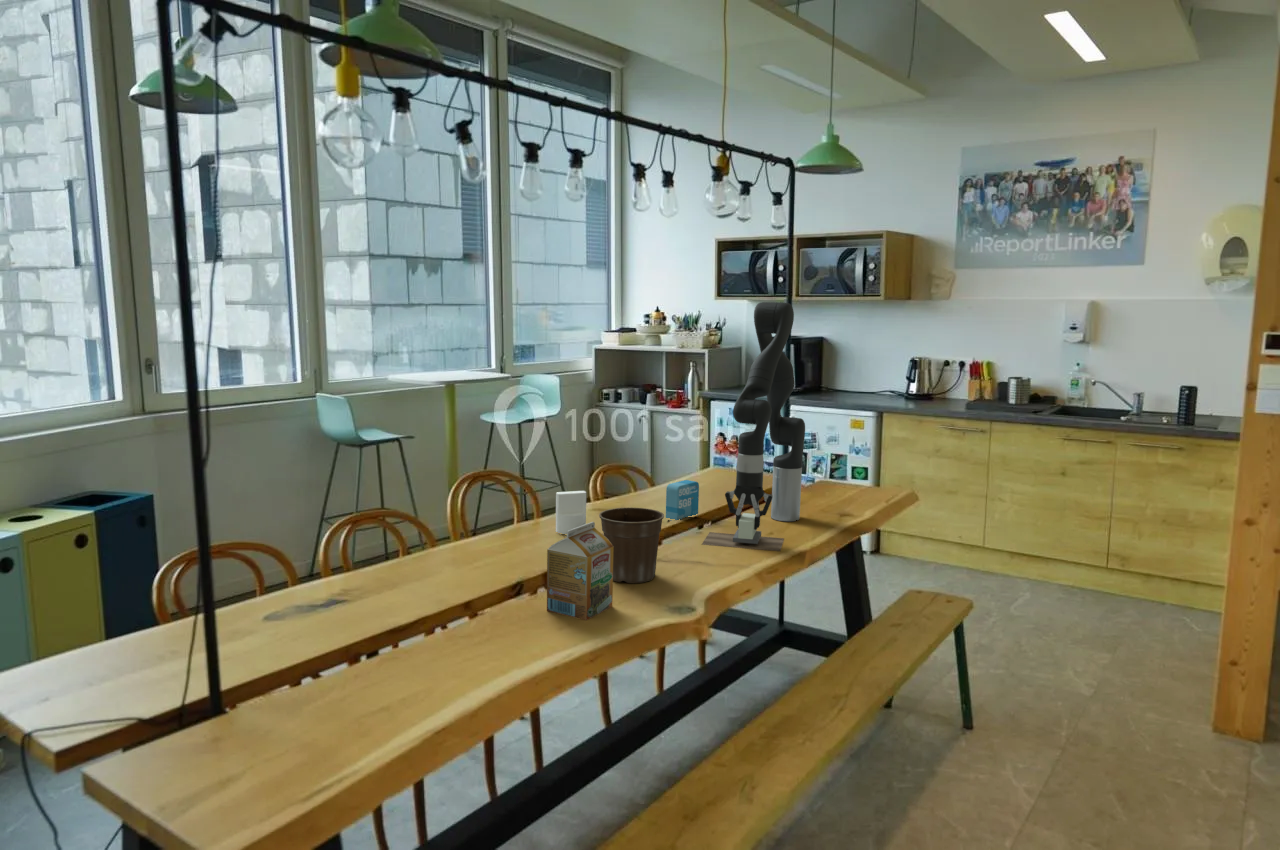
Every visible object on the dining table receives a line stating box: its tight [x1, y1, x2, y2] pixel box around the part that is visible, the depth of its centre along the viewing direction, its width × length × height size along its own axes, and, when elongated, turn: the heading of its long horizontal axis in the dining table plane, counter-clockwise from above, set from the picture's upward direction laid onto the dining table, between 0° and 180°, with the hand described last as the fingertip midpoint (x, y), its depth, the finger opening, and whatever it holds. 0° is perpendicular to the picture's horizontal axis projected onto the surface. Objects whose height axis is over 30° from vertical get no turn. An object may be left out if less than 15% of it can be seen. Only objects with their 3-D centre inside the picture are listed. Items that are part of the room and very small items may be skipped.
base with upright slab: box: [555, 490, 587, 534], centre depth 259 cm, size 9×9×12 cm
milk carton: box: [546, 521, 614, 621], centre depth 192 cm, size 11×11×19 cm
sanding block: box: [733, 512, 762, 544], centre depth 247 cm, size 10×7×6 cm
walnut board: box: [701, 531, 785, 552], centre depth 247 cm, size 14×22×2 cm, turn 76°
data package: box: [665, 479, 700, 520], centre depth 277 cm, size 12×4×12 cm, turn 141°
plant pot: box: [598, 507, 665, 584], centre depth 216 cm, size 16×16×16 cm
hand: (747, 528), depth 247 cm, fingers closed on sanding block, 4 cm apart
